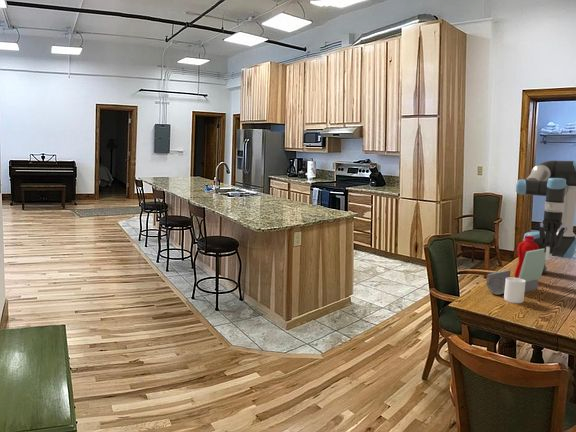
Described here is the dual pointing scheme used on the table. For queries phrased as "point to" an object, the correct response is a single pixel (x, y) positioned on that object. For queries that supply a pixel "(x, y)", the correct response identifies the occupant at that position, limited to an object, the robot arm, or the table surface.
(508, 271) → the grey long flat pieces
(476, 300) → the table surface
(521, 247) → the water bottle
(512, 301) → the cup
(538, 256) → the lid
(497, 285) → the mug
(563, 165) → the robot arm
